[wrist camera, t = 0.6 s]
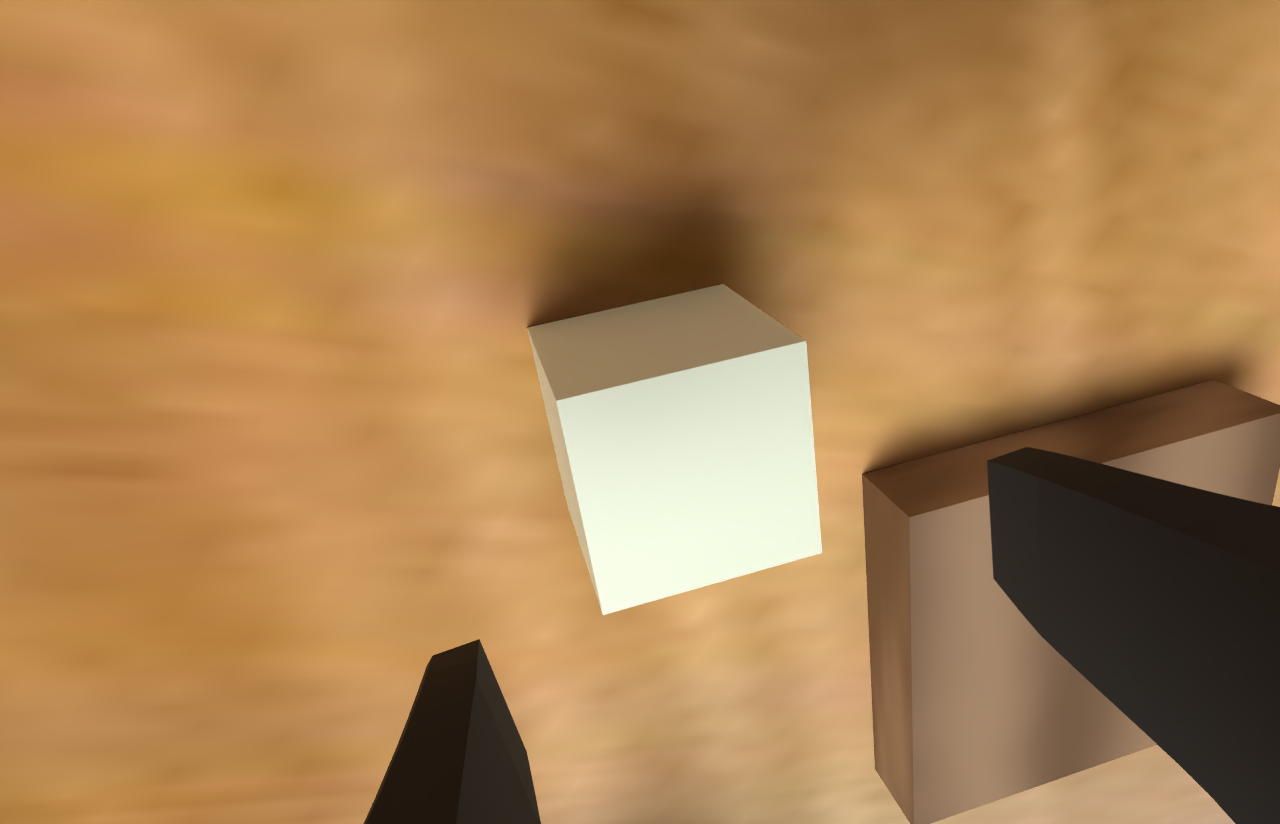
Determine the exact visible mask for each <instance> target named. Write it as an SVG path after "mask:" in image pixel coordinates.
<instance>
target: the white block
mask: <svg viewBox="0 0 1280 824" xmlns="http://www.w3.org/2000/svg"><path fill="white" fill-rule="evenodd" d="M527 329H528V334H529V338H530V343H531V347H532V351H533V356H534V360H535V365H536V369H537V374H538V378H539V383H540V387H541V391H542V396H543V400H544V405H545V409H546V414H547V418H548V422H549V427H550V431H551V436H552V440H553V445H554V449H555V454H556V458H557V462H558V467H559V471H560V476H561V480H562V485H563V489H564V494H565V498H566V502H567V506H568V509H569V512H570V515H571V518H572V521H573V525H574V528H575V531H576V534H577V537H578V540H579V543H580V546H581V549H582V552H583V555H584V558H585V561H586V565H587V568H588V571H589V574H590V577H591V580H592V583H593V586H594V589H595V592H596V595H597V598H598V601H599V605H600V608H601V611H602V614H603V615H605V614H608V613H612V612H615V611H619V610H623V609H626V608H630V607H633V606H637V605H640V604H644V603H647V602H651V601H654V600H658V599H661V598H665V597H668V596H672V595H675V594H679V593H682V592H686V591H689V590H693V589H696V588H700V587H703V586H707V585H710V584H714V583H718V582H721V581H725V580H728V579H732V578H735V577H739V576H742V575H746V574H749V573H753V572H756V571H760V570H763V569H767V568H770V567H774V566H777V565H781V564H784V563H788V562H791V561H795V560H798V559H802V558H805V557H809V556H812V555H816V554H820V553H822V547H821V533H820V520H819V506H818V493H817V479H816V466H815V452H814V439H813V425H812V412H811V398H810V385H809V371H808V358H807V344H806V340H804V339H803V338H801V337H800V336H798V335H797V334H795V333H794V332H792V331H791V330H790V329H788V328H787V327H785V326H784V325H782V324H781V323H779V322H778V321H777V320H775V319H774V318H772V317H771V316H769V315H768V314H766V313H765V312H763V311H762V310H761V309H759V308H758V307H756V306H755V305H753V304H752V303H750V302H749V301H748V300H746V299H745V298H743V297H742V296H740V295H739V294H737V293H736V292H734V291H733V290H732V289H730V288H729V287H727V286H726V285H724V284H721V285H716V286H712V287H707V288H703V289H698V290H694V291H689V292H685V293H680V294H676V295H671V296H667V297H662V298H658V299H653V300H649V301H644V302H640V303H636V304H631V305H627V306H622V307H618V308H613V309H609V310H604V311H600V312H595V313H591V314H586V315H582V316H577V317H573V318H568V319H564V320H559V321H555V322H550V323H546V324H541V325H537V326H532V327H528V328H527Z"/></svg>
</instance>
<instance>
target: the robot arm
mask: <svg viewBox="0 0 1280 824" xmlns="http://www.w3.org/2000/svg"><path fill="white" fill-rule="evenodd" d="M987 471H988V489H989V508H990V526H991V544H992V562H993V579H994V580H995V581H996V582H997V584H998V585H999V586H1000V587H1001V589H1002V590H1003V591H1004V592H1005V594H1006V595H1007V596H1008V597H1009V599H1010V600H1011V601H1012V602H1013V604H1014V605H1015V606H1016V607H1017V609H1018V610H1019V611H1020V612H1021V613H1022V615H1023V616H1024V617H1025V618H1026V619H1027V620H1028V621H1029V623H1030V624H1031V625H1032V626H1033V627H1034V628H1035V630H1036V631H1037V632H1038V633H1039V634H1040V635H1041V637H1043V638H1044V639H1045V640H1046V641H1047V642H1048V643H1049V644H1050V645H1051V646H1052V647H1053V648H1054V649H1055V650H1056V651H1057V652H1058V653H1059V654H1060V655H1061V656H1062V657H1063V658H1065V659H1066V660H1067V661H1068V662H1069V663H1070V664H1071V665H1072V666H1073V667H1074V668H1075V669H1076V670H1077V671H1078V672H1079V673H1080V674H1082V675H1083V676H1084V677H1085V678H1086V679H1087V680H1088V681H1089V682H1090V683H1091V684H1092V685H1093V686H1094V687H1096V688H1097V689H1098V690H1099V691H1100V692H1101V693H1102V694H1103V695H1104V696H1105V697H1106V698H1107V699H1109V700H1110V701H1111V702H1112V703H1113V704H1114V705H1115V706H1116V707H1117V708H1118V709H1119V710H1121V711H1122V712H1123V713H1124V714H1125V715H1126V716H1127V717H1128V718H1129V719H1130V720H1131V721H1132V722H1134V723H1135V724H1136V725H1137V726H1138V727H1139V728H1140V729H1141V730H1142V731H1143V732H1144V733H1145V734H1147V735H1148V736H1149V737H1150V738H1151V739H1152V740H1153V741H1154V742H1155V743H1156V744H1157V745H1158V746H1160V747H1161V748H1162V749H1163V750H1164V751H1165V752H1166V753H1167V754H1168V755H1169V756H1170V757H1171V758H1173V759H1174V760H1175V761H1176V762H1177V763H1178V764H1179V765H1180V766H1181V767H1182V768H1183V769H1184V770H1185V771H1186V772H1187V773H1188V774H1189V775H1190V776H1191V777H1192V778H1193V779H1194V780H1195V781H1196V782H1197V783H1198V784H1199V785H1200V786H1201V787H1202V788H1203V789H1204V790H1205V791H1206V792H1207V793H1208V794H1209V795H1210V796H1211V797H1212V798H1213V799H1214V800H1215V801H1216V802H1217V804H1218V805H1219V806H1220V807H1221V808H1222V809H1223V810H1224V811H1225V812H1226V813H1227V815H1228V816H1229V817H1230V818H1231V819H1232V820H1233V821H1234V822H1235V823H1236V824H1280V507H1276V506H1272V505H1267V504H1262V503H1257V502H1253V501H1248V500H1244V499H1240V498H1236V497H1231V496H1227V495H1223V494H1218V493H1214V492H1210V491H1206V490H1202V489H1198V488H1194V487H1190V486H1186V485H1182V484H1178V483H1174V482H1170V481H1166V480H1162V479H1158V478H1154V477H1151V476H1147V475H1143V474H1139V473H1135V472H1131V471H1127V470H1124V469H1120V468H1116V467H1112V466H1108V465H1104V464H1100V463H1097V462H1093V461H1089V460H1085V459H1081V458H1077V457H1073V456H1068V455H1064V454H1060V453H1056V452H1051V451H1046V450H1041V449H1036V448H1030V447H1025V448H1022V449H1019V450H1016V451H1013V452H1010V453H1007V454H1005V455H1002V456H999V457H996V458H993V459H990V460H988V461H987ZM364 824H541V822H540V817H539V812H538V806H537V801H536V796H535V791H534V786H533V781H532V776H531V771H530V766H529V761H528V756H527V752H526V749H525V747H524V745H523V742H522V740H521V737H520V735H519V733H518V730H517V728H516V726H515V723H514V721H513V718H512V716H511V714H510V711H509V709H508V706H507V704H506V702H505V699H504V697H503V695H502V692H501V690H500V687H499V685H498V683H497V680H496V678H495V675H494V673H493V671H492V668H491V666H490V664H489V661H488V659H487V656H486V654H485V652H484V649H483V647H482V644H481V642H480V640H476V641H473V642H470V643H467V644H465V645H462V646H459V647H456V648H453V649H450V650H448V651H445V652H442V653H439V654H436V655H433V656H432V658H431V660H430V661H429V663H428V665H427V667H426V670H425V673H424V676H423V679H422V681H421V684H420V687H419V690H418V692H417V695H416V698H415V701H414V704H413V706H412V709H411V712H410V714H409V717H408V720H407V722H406V725H405V727H404V730H403V732H402V735H401V738H400V740H399V743H398V745H397V748H396V750H395V753H394V755H393V757H392V760H391V762H390V764H389V767H388V769H387V771H386V774H385V776H384V779H383V781H382V783H381V786H380V788H379V790H378V793H377V795H376V798H375V800H374V802H373V804H372V807H371V809H370V811H369V813H368V815H367V818H366V820H365V822H364Z"/></svg>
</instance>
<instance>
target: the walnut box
mask: <svg viewBox="0 0 1280 824" xmlns="http://www.w3.org/2000/svg"><path fill="white" fill-rule="evenodd" d="M1025 447H1030V448H1036V449H1041V450H1046V451H1051V452H1056V453H1060V454H1064V455H1068V456H1073V457H1077V458H1081V459H1085V460H1089V461H1093V462H1097V463H1100V464H1104V465H1108V466H1112V467H1116V468H1120V469H1124V470H1127V471H1131V472H1135V473H1139V474H1143V475H1147V476H1151V477H1154V478H1158V479H1162V480H1166V481H1170V482H1174V483H1178V484H1182V485H1186V486H1190V487H1194V488H1198V489H1202V490H1206V491H1210V492H1214V493H1218V494H1223V495H1227V496H1231V497H1236V498H1240V499H1244V500H1248V501H1253V502H1257V503H1262V504H1267V505H1272V502H1273V497H1274V492H1275V488H1276V483H1277V478H1278V473H1279V468H1280V405H1278V404H1275V403H1272V402H1270V401H1267V400H1265V399H1262V398H1260V397H1257V396H1254V395H1252V394H1249V393H1247V392H1244V391H1242V390H1239V389H1236V388H1234V387H1231V386H1229V385H1226V384H1223V383H1221V382H1218V381H1216V380H1210V381H1207V382H1203V383H1199V384H1196V385H1192V386H1188V387H1184V388H1181V389H1177V390H1173V391H1169V392H1166V393H1162V394H1158V395H1155V396H1151V397H1147V398H1143V399H1140V400H1136V401H1132V402H1128V403H1125V404H1121V405H1117V406H1114V407H1110V408H1106V409H1102V410H1099V411H1095V412H1091V413H1088V414H1084V415H1080V416H1076V417H1073V418H1069V419H1065V420H1061V421H1058V422H1054V423H1050V424H1047V425H1043V426H1039V427H1035V428H1032V429H1028V430H1024V431H1020V432H1017V433H1013V434H1009V435H1006V436H1002V437H998V438H994V439H991V440H987V441H983V442H980V443H976V444H972V445H968V446H965V447H961V448H957V449H953V450H950V451H946V452H942V453H939V454H935V455H931V456H927V457H924V458H920V459H916V460H912V461H909V462H905V463H901V464H898V465H894V466H890V467H886V468H883V469H879V470H875V471H871V472H868V473H864V474H862V483H863V506H864V528H865V551H866V574H867V596H868V619H869V642H870V665H871V687H872V710H873V733H874V756H875V769H876V771H877V773H878V774H879V776H880V777H881V779H882V780H883V782H884V783H885V785H886V787H887V788H888V790H889V791H890V793H891V794H892V796H893V797H894V799H895V800H896V802H897V804H898V805H899V807H900V808H901V810H902V811H903V813H904V814H905V816H906V818H907V819H908V821H909V822H910V824H930V823H933V822H936V821H939V820H942V819H945V818H948V817H950V816H953V815H956V814H959V813H962V812H965V811H968V810H971V809H973V808H976V807H979V806H982V805H985V804H988V803H991V802H994V801H996V800H999V799H1002V798H1005V797H1008V796H1011V795H1014V794H1017V793H1019V792H1022V791H1025V790H1028V789H1031V788H1034V787H1037V786H1039V785H1042V784H1045V783H1048V782H1051V781H1054V780H1057V779H1060V778H1062V777H1065V776H1068V775H1071V774H1074V773H1077V772H1080V771H1083V770H1085V769H1088V768H1091V767H1094V766H1097V765H1100V764H1103V763H1106V762H1108V761H1111V760H1114V759H1117V758H1120V757H1123V756H1126V755H1129V754H1131V753H1134V752H1137V751H1140V750H1143V749H1146V748H1149V747H1152V746H1154V745H1157V744H1156V743H1155V742H1154V741H1153V740H1152V739H1151V738H1150V737H1149V736H1148V735H1147V734H1145V733H1144V732H1143V731H1142V730H1141V729H1140V728H1139V727H1138V726H1137V725H1136V724H1135V723H1134V722H1132V721H1131V720H1130V719H1129V718H1128V717H1127V716H1126V715H1125V714H1124V713H1123V712H1122V711H1121V710H1119V709H1118V708H1117V707H1116V706H1115V705H1114V704H1113V703H1112V702H1111V701H1110V700H1109V699H1107V698H1106V697H1105V696H1104V695H1103V694H1102V693H1101V692H1100V691H1099V690H1098V689H1097V688H1096V687H1094V686H1093V685H1092V684H1091V683H1090V682H1089V681H1088V680H1087V679H1086V678H1085V677H1084V676H1083V675H1082V674H1080V673H1079V672H1078V671H1077V670H1076V669H1075V668H1074V667H1073V666H1072V665H1071V664H1070V663H1069V662H1068V661H1067V660H1066V659H1065V658H1063V657H1062V656H1061V655H1060V654H1059V653H1058V652H1057V651H1056V650H1055V649H1054V648H1053V647H1052V646H1051V645H1050V644H1049V643H1048V642H1047V641H1046V640H1045V639H1044V638H1043V637H1041V635H1040V634H1039V633H1038V632H1037V631H1036V630H1035V628H1034V627H1033V626H1032V625H1031V624H1030V623H1029V621H1028V620H1027V619H1026V618H1025V617H1024V616H1023V615H1022V613H1021V612H1020V611H1019V610H1018V609H1017V607H1016V606H1015V605H1014V604H1013V602H1012V601H1011V600H1010V599H1009V597H1008V596H1007V595H1006V594H1005V592H1004V591H1003V590H1002V589H1001V587H1000V586H999V585H998V584H997V582H996V581H995V580H994V579H993V562H992V544H991V526H990V508H989V489H988V471H987V461H988V460H990V459H993V458H996V457H999V456H1002V455H1005V454H1007V453H1010V452H1013V451H1016V450H1019V449H1022V448H1025Z"/></svg>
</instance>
